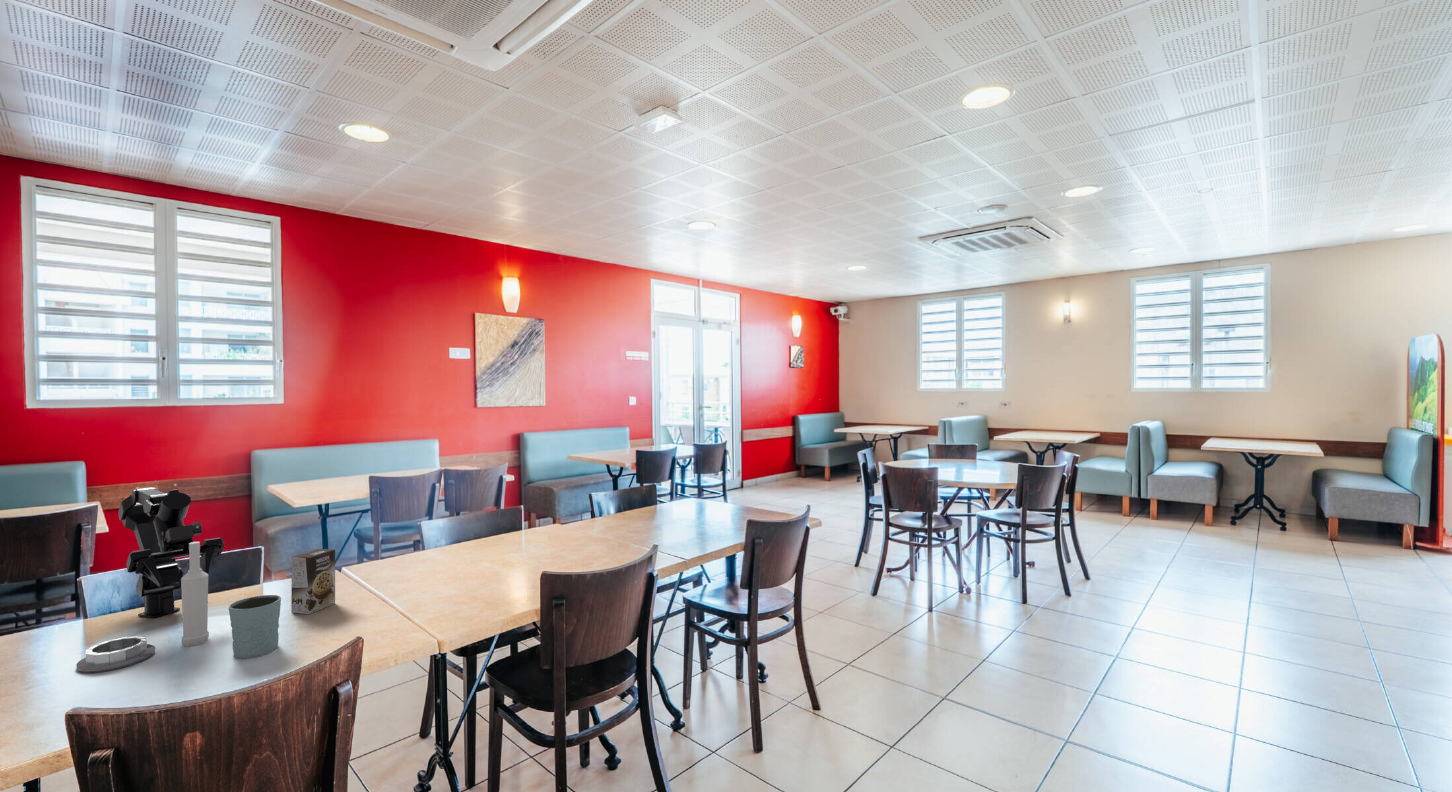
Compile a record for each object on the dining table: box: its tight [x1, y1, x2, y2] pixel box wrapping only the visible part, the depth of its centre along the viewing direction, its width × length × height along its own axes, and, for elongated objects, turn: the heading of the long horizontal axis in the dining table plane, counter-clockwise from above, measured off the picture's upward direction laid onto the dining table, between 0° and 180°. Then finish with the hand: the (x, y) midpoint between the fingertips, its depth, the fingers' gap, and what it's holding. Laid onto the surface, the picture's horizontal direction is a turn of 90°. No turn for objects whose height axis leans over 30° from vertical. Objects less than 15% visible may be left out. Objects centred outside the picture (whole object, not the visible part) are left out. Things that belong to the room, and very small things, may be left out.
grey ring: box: [75, 635, 156, 674], centre depth 142 cm, size 13×13×4 cm
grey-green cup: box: [228, 594, 282, 659], centre depth 148 cm, size 10×10×12 cm
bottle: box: [180, 541, 210, 647], centre depth 152 cm, size 5×5×25 cm
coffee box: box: [290, 548, 336, 615], centre depth 176 cm, size 9×6×16 cm
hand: (184, 580), depth 157 cm, fingers open, 9 cm apart
